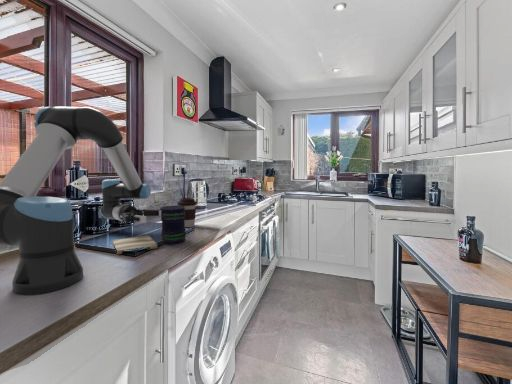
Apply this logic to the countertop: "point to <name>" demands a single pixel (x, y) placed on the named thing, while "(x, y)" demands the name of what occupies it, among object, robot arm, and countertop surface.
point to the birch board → (133, 243)
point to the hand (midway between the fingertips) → (158, 217)
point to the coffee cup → (189, 210)
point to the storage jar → (173, 225)
